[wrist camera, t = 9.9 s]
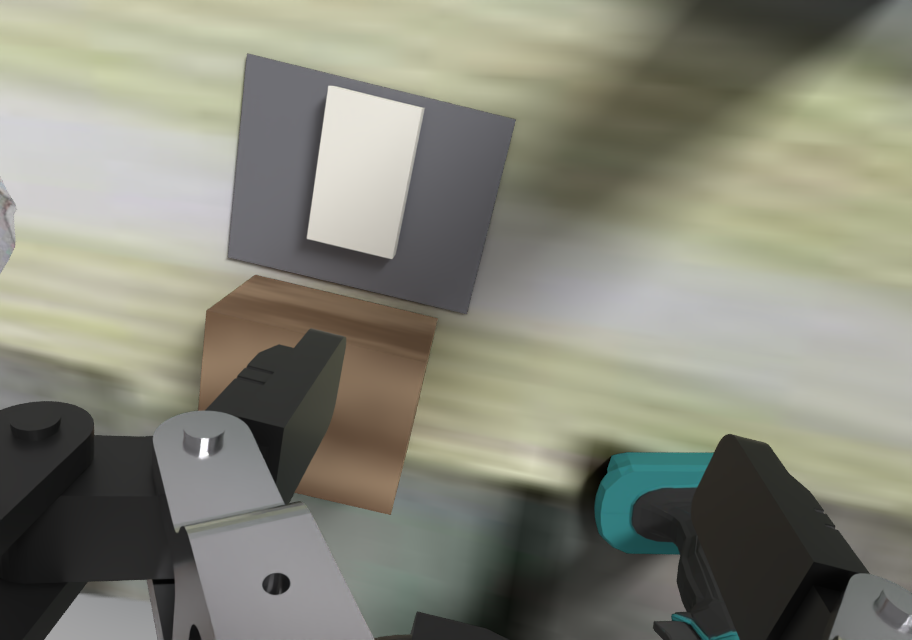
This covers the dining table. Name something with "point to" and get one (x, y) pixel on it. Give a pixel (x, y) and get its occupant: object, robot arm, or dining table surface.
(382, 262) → the mat
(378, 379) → the walnut block
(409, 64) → the dining table surface
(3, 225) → the decorative wall hanging
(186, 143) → the dining table surface
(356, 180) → the card box
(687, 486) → the power drill
